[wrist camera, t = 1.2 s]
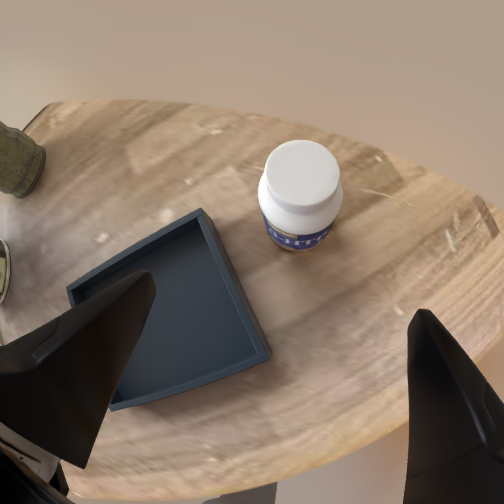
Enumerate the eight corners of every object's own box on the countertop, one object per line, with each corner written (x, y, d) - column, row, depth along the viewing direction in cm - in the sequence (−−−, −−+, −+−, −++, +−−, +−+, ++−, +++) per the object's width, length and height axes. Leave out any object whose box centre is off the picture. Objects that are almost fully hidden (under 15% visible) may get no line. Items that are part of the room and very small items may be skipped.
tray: (272, 352, 20) (270, 359, 18) (126, 403, 21) (110, 411, 18) (211, 218, 23) (200, 207, 20) (84, 289, 24) (65, 286, 21)
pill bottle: (264, 252, 22) (247, 218, 13) (266, 191, 23) (252, 130, 14) (331, 253, 21) (356, 219, 13) (329, 191, 22) (346, 131, 13)
